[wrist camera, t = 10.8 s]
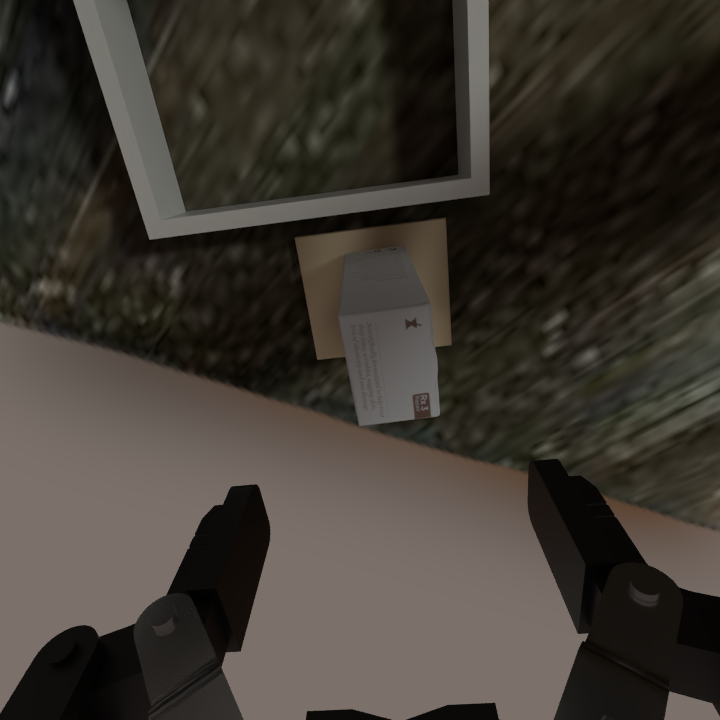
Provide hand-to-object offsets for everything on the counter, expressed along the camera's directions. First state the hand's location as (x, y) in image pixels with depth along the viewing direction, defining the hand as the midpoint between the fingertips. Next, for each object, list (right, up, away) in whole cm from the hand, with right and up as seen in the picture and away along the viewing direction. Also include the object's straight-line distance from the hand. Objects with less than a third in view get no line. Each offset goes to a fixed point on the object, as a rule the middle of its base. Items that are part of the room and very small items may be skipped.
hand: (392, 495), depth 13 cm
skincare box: (+1, +9, +18) cm, 20 cm away
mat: (0, +9, +19) cm, 21 cm away
